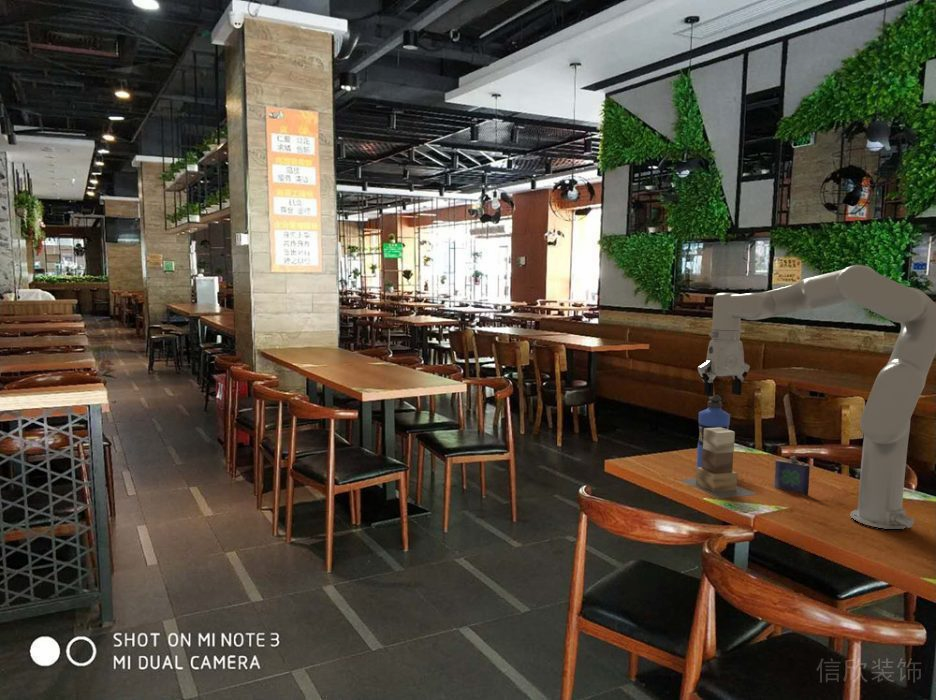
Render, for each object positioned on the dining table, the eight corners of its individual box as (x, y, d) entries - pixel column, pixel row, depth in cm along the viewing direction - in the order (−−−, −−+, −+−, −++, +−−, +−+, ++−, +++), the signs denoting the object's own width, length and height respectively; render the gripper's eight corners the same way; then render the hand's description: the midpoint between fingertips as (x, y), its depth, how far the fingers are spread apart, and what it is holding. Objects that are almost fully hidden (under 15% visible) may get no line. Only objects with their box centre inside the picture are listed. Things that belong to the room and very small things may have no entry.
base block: (736, 489, 193) (737, 473, 193) (713, 492, 191) (714, 475, 190) (718, 481, 201) (719, 465, 200) (695, 483, 198) (696, 467, 198)
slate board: (757, 497, 189) (757, 494, 189) (719, 501, 185) (719, 498, 185) (715, 478, 206) (715, 476, 206) (679, 482, 202) (679, 479, 202)
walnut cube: (732, 472, 193) (733, 452, 193) (715, 473, 191) (716, 453, 191) (718, 466, 199) (719, 447, 198) (701, 468, 197) (702, 448, 196)
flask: (772, 490, 196) (775, 454, 195) (775, 487, 198) (777, 452, 197) (806, 496, 190) (809, 460, 189) (809, 494, 193) (812, 458, 192)
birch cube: (733, 452, 193) (734, 431, 192) (716, 453, 191) (717, 433, 190) (719, 447, 198) (720, 427, 198) (702, 448, 196) (703, 428, 196)
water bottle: (694, 473, 212) (698, 396, 209) (696, 466, 220) (700, 391, 218) (726, 477, 208) (730, 398, 206) (727, 469, 217) (731, 393, 214)
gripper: (709, 337, 185) (706, 398, 186) (759, 336, 190) (756, 396, 192) (691, 335, 192) (689, 394, 193) (741, 334, 197) (738, 391, 199)
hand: (722, 395), depth 193 cm, fingers open, 9 cm apart
